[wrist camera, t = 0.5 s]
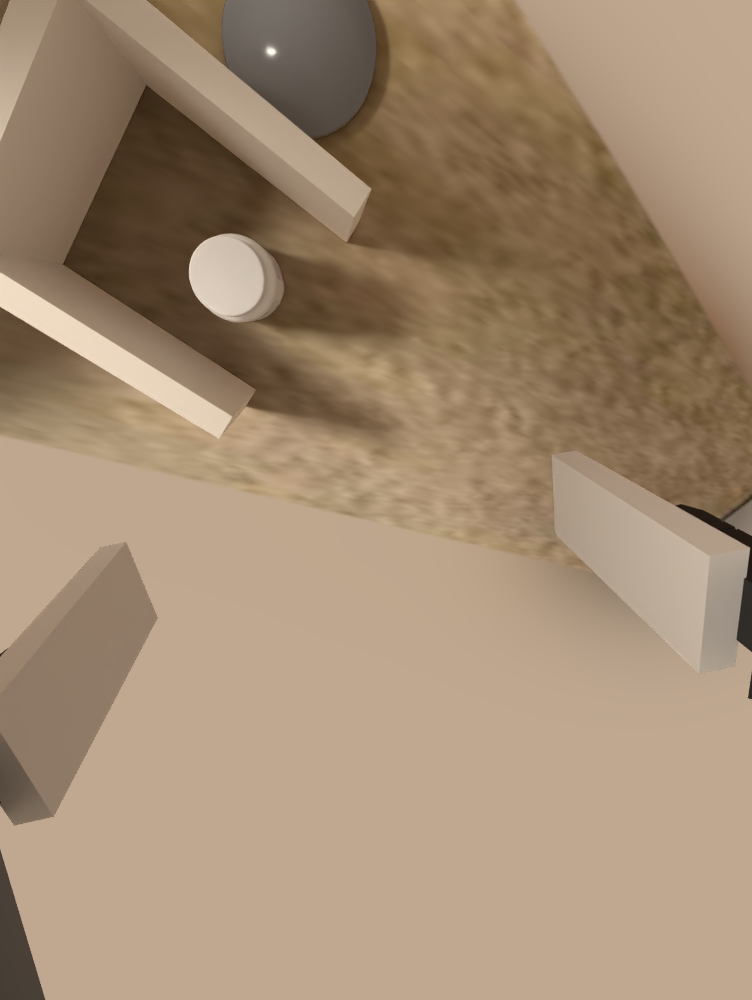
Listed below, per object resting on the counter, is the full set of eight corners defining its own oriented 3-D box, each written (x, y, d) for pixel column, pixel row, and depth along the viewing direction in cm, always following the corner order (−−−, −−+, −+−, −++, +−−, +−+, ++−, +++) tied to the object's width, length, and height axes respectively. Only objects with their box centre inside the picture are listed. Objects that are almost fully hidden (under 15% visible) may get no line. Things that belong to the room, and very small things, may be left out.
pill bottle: (215, 239, 33) (181, 217, 25) (287, 252, 34) (276, 234, 26) (212, 314, 35) (179, 316, 27) (281, 325, 35) (269, 330, 27)
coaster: (196, 68, 30) (193, 62, 29) (275, -92, 27) (273, -104, 27) (323, 172, 32) (323, 169, 31) (404, 33, 30) (406, 25, 29)
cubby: (30, 270, 33) (-88, 254, 23) (133, 40, 29) (43, -87, 20) (245, 406, 37) (219, 438, 28) (358, 222, 33) (371, 189, 24)
